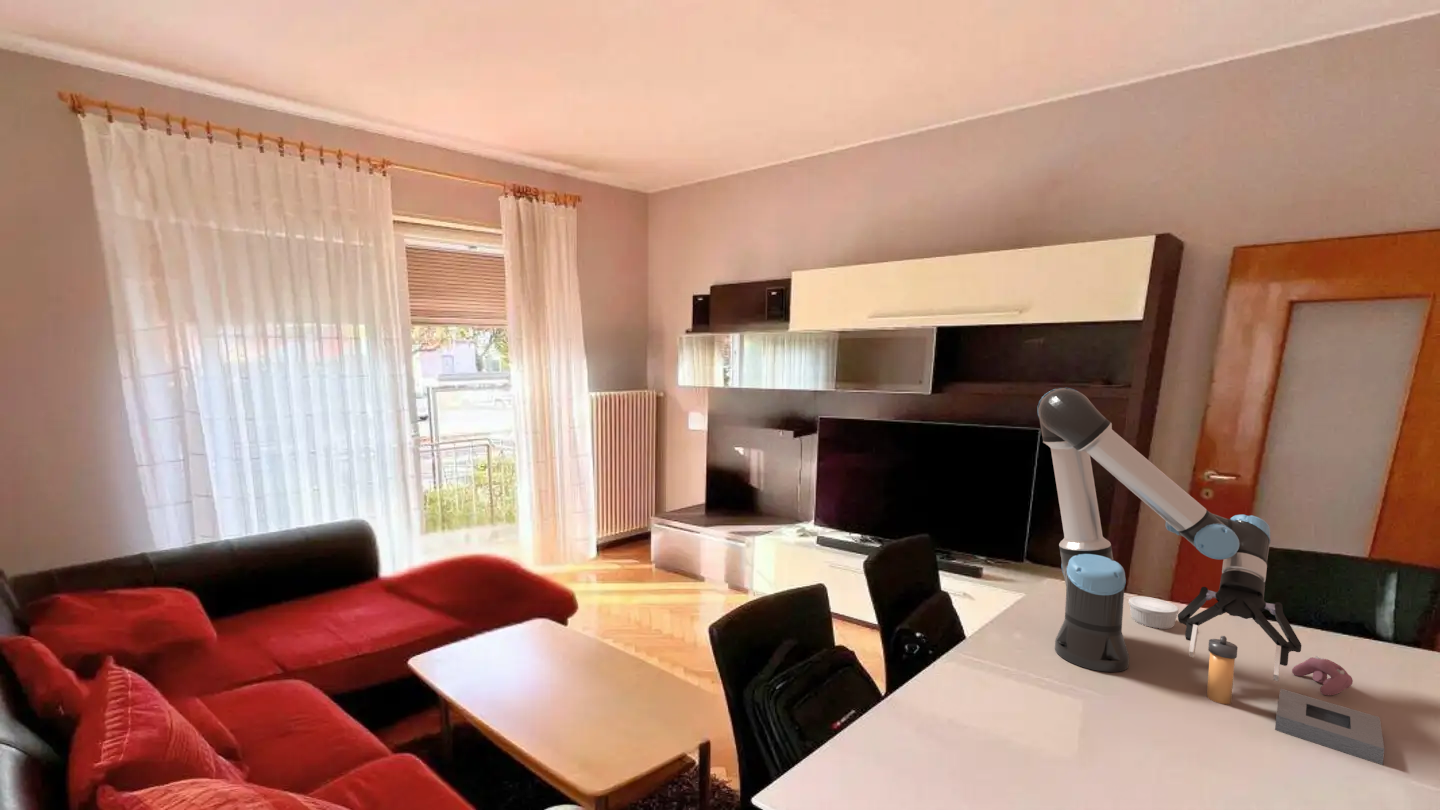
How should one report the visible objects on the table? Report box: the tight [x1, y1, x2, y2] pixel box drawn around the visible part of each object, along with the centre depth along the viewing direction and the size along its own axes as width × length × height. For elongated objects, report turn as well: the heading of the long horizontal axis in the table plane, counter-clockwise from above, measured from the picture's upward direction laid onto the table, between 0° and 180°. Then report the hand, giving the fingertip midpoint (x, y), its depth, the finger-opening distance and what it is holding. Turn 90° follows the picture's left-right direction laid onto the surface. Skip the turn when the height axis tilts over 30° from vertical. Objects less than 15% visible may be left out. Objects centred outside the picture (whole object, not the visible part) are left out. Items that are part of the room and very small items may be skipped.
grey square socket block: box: [1274, 688, 1385, 766], centre depth 116 cm, size 14×14×3 cm
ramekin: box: [1128, 595, 1180, 630], centre depth 165 cm, size 11×11×5 cm
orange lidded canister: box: [1206, 635, 1238, 705], centre depth 126 cm, size 5×5×14 cm
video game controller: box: [1291, 655, 1354, 696], centre depth 133 cm, size 10×5×7 cm, turn 169°
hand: (1232, 665), depth 126 cm, fingers open, 13 cm apart
